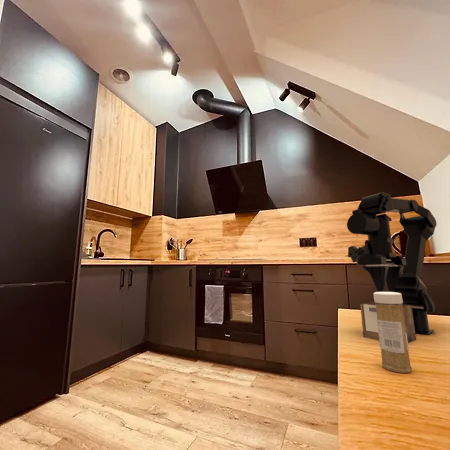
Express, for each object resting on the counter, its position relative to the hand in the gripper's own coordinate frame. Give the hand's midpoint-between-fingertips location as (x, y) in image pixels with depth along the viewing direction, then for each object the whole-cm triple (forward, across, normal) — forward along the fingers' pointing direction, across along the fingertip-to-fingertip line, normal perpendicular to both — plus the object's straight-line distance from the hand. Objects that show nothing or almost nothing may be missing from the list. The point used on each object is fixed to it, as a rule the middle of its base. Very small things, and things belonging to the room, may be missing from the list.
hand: (386, 291), depth 69 cm
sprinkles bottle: (+12, +25, +9) cm, 29 cm away
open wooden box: (+12, +2, 0) cm, 12 cm away
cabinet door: (+10, +6, 0) cm, 12 cm away
